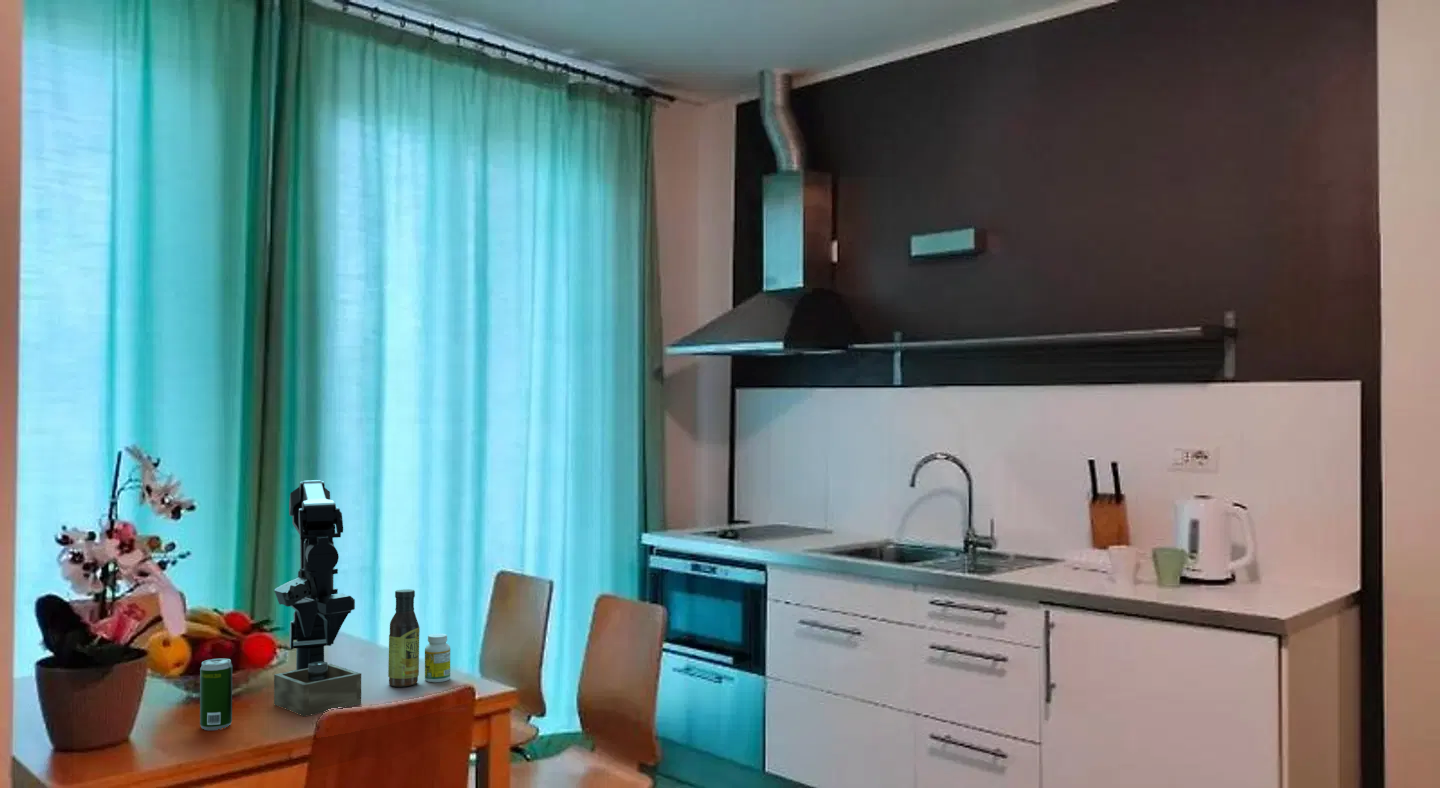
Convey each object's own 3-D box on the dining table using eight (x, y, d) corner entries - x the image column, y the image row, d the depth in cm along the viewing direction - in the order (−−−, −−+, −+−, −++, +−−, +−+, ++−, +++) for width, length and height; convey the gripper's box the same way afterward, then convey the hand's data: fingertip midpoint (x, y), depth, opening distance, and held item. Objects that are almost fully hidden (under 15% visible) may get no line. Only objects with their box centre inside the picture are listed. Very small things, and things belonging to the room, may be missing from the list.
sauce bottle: (410, 688, 230) (410, 593, 230) (382, 687, 231) (382, 592, 231) (424, 681, 236) (424, 588, 236) (397, 679, 238) (398, 587, 238)
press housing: (274, 704, 218) (274, 674, 218) (330, 692, 227) (330, 663, 227) (303, 716, 210) (304, 685, 210) (361, 703, 219) (361, 673, 219)
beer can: (232, 728, 202) (232, 663, 202) (200, 732, 200) (200, 666, 200) (231, 720, 207) (231, 657, 207) (199, 724, 205) (200, 659, 205)
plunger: (284, 698, 218) (284, 664, 218) (327, 689, 225) (327, 656, 225) (307, 707, 212) (307, 671, 212) (351, 697, 219) (351, 663, 219)
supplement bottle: (452, 681, 236) (452, 636, 236) (426, 683, 234) (426, 638, 234) (448, 675, 241) (448, 631, 241) (423, 677, 239) (423, 633, 239)
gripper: (258, 563, 224) (258, 639, 224) (303, 575, 211) (303, 656, 211) (310, 556, 232) (309, 630, 232) (356, 568, 219) (356, 646, 220)
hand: (318, 640), depth 224 cm, fingers open, 9 cm apart
